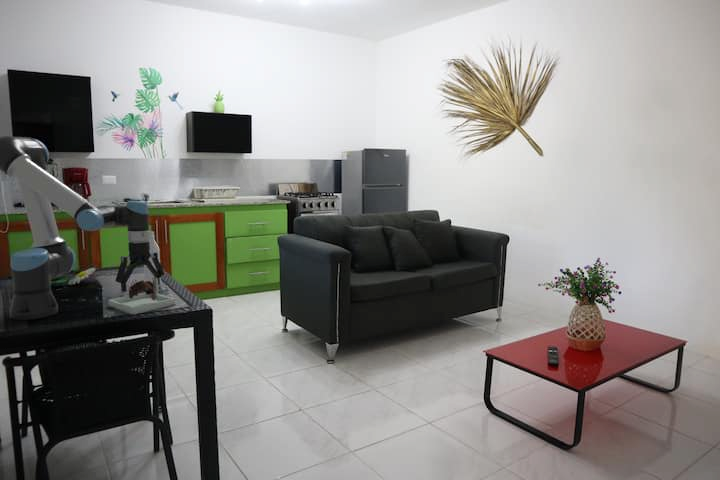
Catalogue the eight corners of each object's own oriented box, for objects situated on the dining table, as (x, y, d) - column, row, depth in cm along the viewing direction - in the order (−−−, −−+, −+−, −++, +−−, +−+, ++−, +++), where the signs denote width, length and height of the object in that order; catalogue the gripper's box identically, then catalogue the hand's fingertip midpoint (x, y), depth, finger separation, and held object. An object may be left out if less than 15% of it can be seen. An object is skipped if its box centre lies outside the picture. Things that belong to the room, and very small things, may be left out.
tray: (132, 314, 190) (132, 308, 190) (108, 306, 201) (108, 300, 201) (175, 304, 204) (175, 298, 204) (150, 297, 215) (150, 291, 214)
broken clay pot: (153, 303, 197) (140, 286, 194) (133, 313, 199) (120, 296, 196) (164, 288, 208) (152, 271, 205) (144, 297, 210) (132, 281, 207)
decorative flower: (26, 298, 219) (101, 279, 238) (23, 287, 218) (99, 269, 237) (21, 294, 228) (93, 276, 247) (18, 283, 227) (91, 266, 246)
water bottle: (146, 285, 235) (144, 230, 231) (163, 285, 236) (160, 230, 232) (141, 289, 228) (139, 232, 224) (158, 289, 229) (156, 232, 225)
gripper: (113, 246, 187) (116, 304, 191) (172, 238, 206) (174, 292, 209) (103, 243, 192) (106, 301, 195) (161, 237, 210) (163, 289, 214)
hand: (141, 296), depth 202 cm, fingers closed on broken clay pot, 11 cm apart
